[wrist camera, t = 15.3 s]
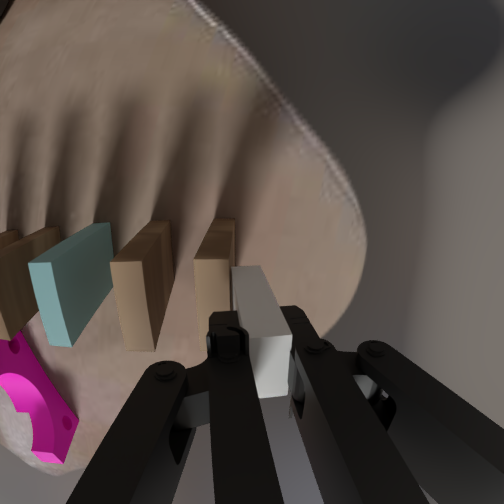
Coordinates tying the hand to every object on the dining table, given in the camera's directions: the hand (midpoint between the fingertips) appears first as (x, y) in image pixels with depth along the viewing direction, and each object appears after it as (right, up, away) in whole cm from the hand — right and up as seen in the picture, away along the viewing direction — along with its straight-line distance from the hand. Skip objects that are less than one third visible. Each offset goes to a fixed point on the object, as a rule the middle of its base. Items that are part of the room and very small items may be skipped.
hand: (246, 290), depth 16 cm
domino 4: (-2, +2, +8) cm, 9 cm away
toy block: (-26, -12, +10) cm, 30 cm away
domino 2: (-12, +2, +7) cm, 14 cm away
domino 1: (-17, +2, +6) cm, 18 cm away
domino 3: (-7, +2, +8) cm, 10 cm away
